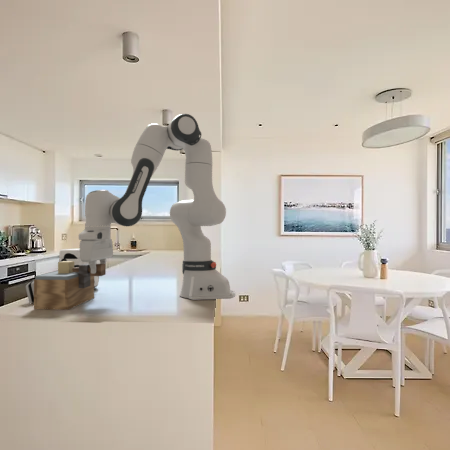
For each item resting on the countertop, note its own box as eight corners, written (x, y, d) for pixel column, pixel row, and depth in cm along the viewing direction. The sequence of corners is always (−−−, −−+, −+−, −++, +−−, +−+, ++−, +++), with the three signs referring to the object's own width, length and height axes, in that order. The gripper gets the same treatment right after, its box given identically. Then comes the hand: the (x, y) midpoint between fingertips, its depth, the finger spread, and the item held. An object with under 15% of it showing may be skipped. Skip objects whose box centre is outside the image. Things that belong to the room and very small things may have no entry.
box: (101, 297, 139) (101, 261, 139) (76, 309, 119) (76, 267, 119) (64, 297, 140) (64, 261, 140) (33, 309, 120) (33, 267, 120)
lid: (93, 275, 139) (93, 259, 139) (67, 282, 120) (67, 264, 120) (65, 274, 140) (65, 259, 140) (35, 282, 120) (35, 264, 120)
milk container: (106, 287, 163) (106, 248, 163) (82, 294, 147) (82, 250, 147) (75, 285, 168) (75, 248, 168) (47, 292, 151) (47, 250, 151)
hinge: (41, 303, 129) (33, 277, 129) (30, 307, 129) (21, 282, 130) (66, 294, 145) (59, 272, 146) (56, 298, 146) (48, 275, 146)
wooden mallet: (105, 274, 131) (105, 263, 131) (100, 276, 127) (100, 265, 127) (76, 274, 132) (76, 263, 132) (71, 275, 128) (71, 264, 128)
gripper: (101, 233, 140) (101, 268, 139) (75, 234, 119) (76, 275, 119) (117, 233, 139) (117, 268, 139) (94, 234, 119) (94, 275, 119)
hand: (98, 272), depth 129 cm, fingers open, 5 cm apart
